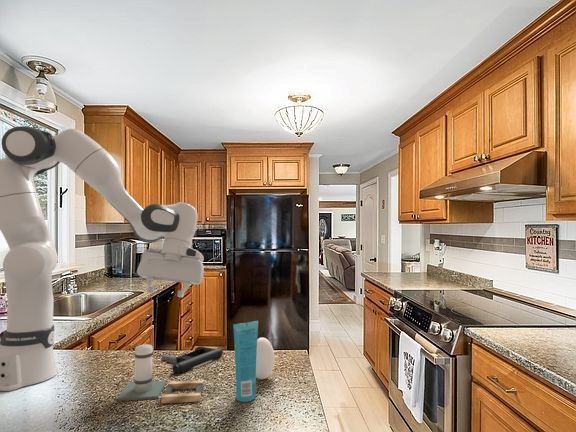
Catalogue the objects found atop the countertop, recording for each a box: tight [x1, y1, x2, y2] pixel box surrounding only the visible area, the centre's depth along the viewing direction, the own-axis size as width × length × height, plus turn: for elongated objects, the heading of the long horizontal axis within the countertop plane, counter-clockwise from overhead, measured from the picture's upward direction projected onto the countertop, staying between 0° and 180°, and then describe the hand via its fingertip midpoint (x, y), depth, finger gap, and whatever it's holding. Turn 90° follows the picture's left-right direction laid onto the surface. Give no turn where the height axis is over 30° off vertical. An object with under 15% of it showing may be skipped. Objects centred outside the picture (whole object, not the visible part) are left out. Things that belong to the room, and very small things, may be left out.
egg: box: [256, 337, 276, 380], centre depth 107 cm, size 7×7×12 cm
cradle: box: [160, 379, 205, 404], centre depth 97 cm, size 9×9×2 cm
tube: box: [233, 320, 259, 403], centre depth 95 cm, size 7×5×19 cm, turn 133°
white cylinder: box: [133, 344, 154, 392], centre depth 98 cm, size 5×5×11 cm
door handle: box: [161, 346, 224, 374], centre depth 121 cm, size 3×20×16 cm
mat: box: [116, 380, 167, 402], centre depth 98 cm, size 10×10×1 cm
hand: (165, 294), depth 113 cm, fingers open, 8 cm apart
